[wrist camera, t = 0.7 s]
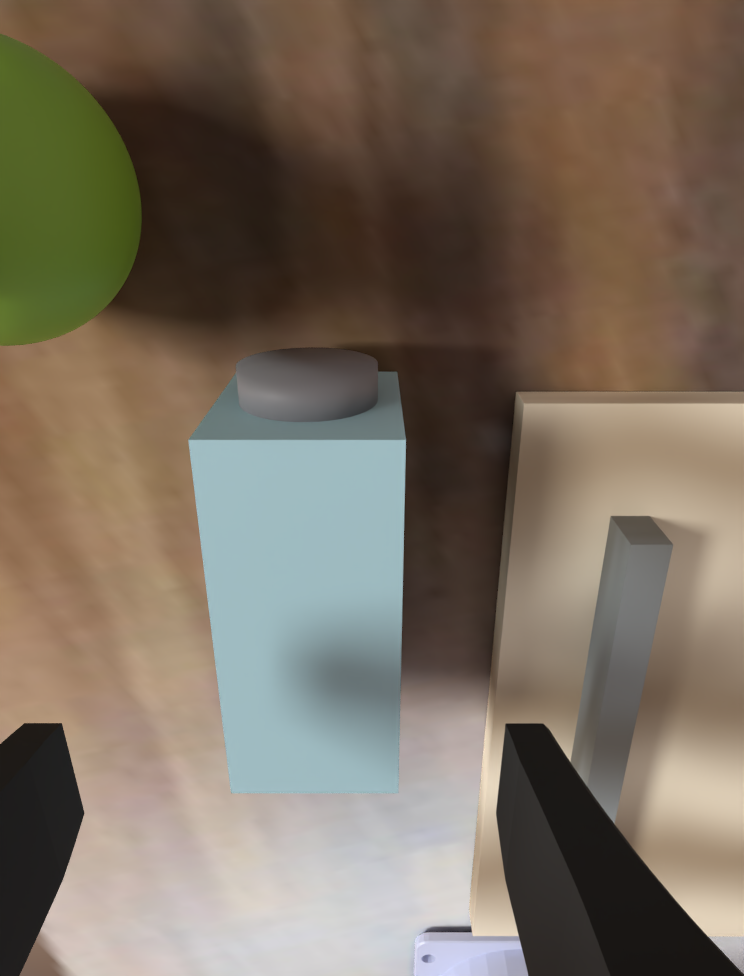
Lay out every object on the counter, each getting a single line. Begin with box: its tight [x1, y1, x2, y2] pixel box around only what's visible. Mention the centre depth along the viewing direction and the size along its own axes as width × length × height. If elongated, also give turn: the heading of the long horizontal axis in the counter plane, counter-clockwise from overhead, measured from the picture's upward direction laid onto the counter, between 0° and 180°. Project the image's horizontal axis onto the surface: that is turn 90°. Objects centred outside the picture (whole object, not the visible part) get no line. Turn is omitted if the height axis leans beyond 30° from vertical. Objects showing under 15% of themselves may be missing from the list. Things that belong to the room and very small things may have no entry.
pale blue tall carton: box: [189, 348, 406, 793], centre depth 16 cm, size 10×4×5 cm, turn 0°
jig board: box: [469, 392, 744, 936], centre depth 20 cm, size 20×14×2 cm
